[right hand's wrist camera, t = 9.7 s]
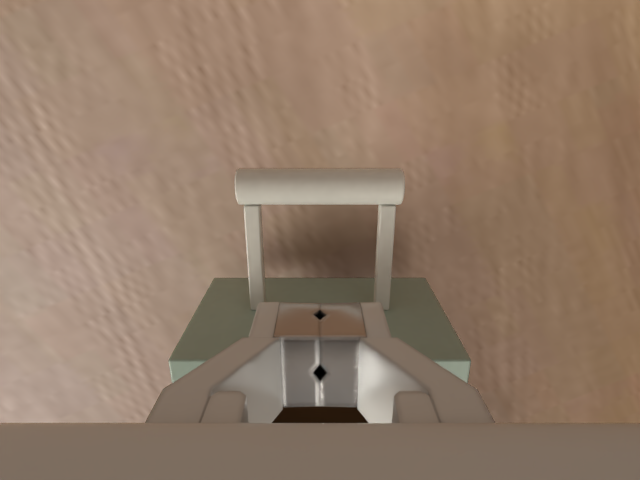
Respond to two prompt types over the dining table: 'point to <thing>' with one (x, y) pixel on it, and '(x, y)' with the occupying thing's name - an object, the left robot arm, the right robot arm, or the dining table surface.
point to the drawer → (246, 293)
